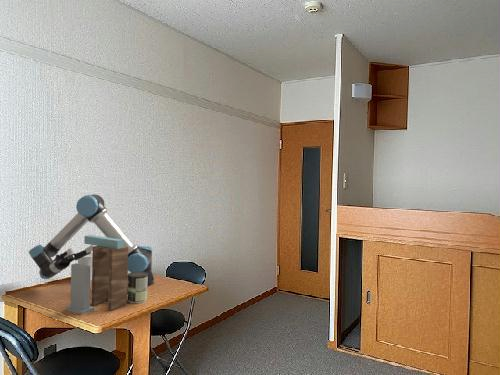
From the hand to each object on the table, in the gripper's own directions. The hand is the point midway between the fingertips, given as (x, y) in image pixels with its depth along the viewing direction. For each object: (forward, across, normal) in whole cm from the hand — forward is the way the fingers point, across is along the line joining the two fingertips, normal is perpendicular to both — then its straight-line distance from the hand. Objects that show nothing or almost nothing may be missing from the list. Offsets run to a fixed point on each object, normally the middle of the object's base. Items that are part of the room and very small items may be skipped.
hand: (83, 248), depth 198 cm
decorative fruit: (-4, -21, -29) cm, 36 cm away
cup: (-37, -25, -10) cm, 46 cm away
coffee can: (+9, -14, -36) cm, 40 cm away
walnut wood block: (+4, 0, -33) cm, 34 cm away
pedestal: (-1, +12, -30) cm, 33 cm away
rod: (+15, 0, -5) cm, 16 cm away
